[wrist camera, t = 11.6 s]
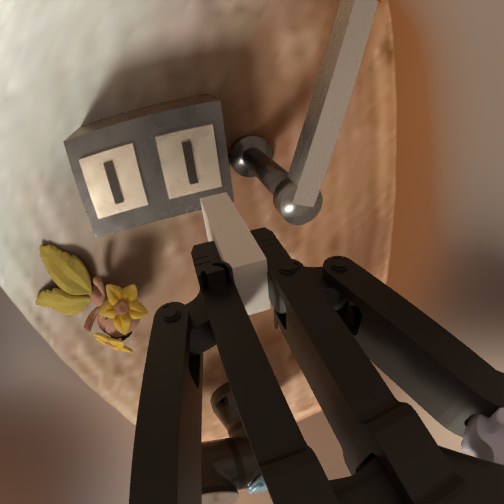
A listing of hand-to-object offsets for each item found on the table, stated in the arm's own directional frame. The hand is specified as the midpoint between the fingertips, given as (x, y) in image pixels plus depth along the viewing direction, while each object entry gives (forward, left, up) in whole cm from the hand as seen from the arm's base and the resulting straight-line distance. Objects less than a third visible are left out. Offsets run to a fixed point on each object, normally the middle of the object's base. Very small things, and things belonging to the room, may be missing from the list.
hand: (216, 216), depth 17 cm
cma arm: (+6, -11, -6) cm, 14 cm away
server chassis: (0, +4, -18) cm, 19 cm away
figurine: (-16, +17, -18) cm, 30 cm away
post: (-3, -7, -18) cm, 20 cm away
